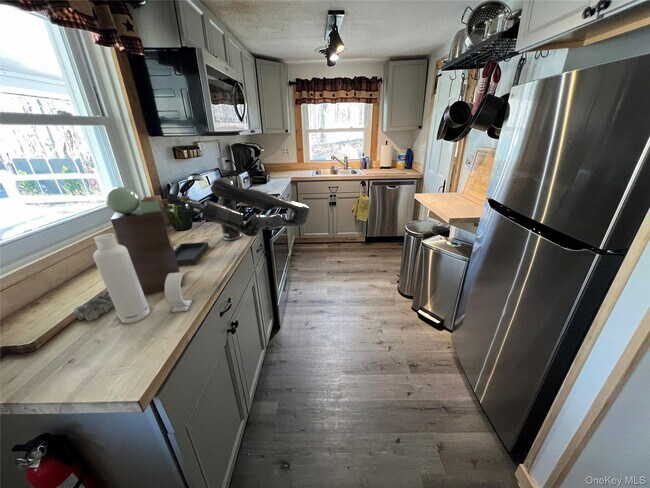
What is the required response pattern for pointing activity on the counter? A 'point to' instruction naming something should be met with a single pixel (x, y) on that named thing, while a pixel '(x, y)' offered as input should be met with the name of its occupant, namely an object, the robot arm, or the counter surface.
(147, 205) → the flask
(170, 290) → the headphone stand
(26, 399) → the counter surface
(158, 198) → the wooden mallet
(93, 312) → the grey rock
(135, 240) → the stand
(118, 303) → the bottle
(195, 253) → the tray
